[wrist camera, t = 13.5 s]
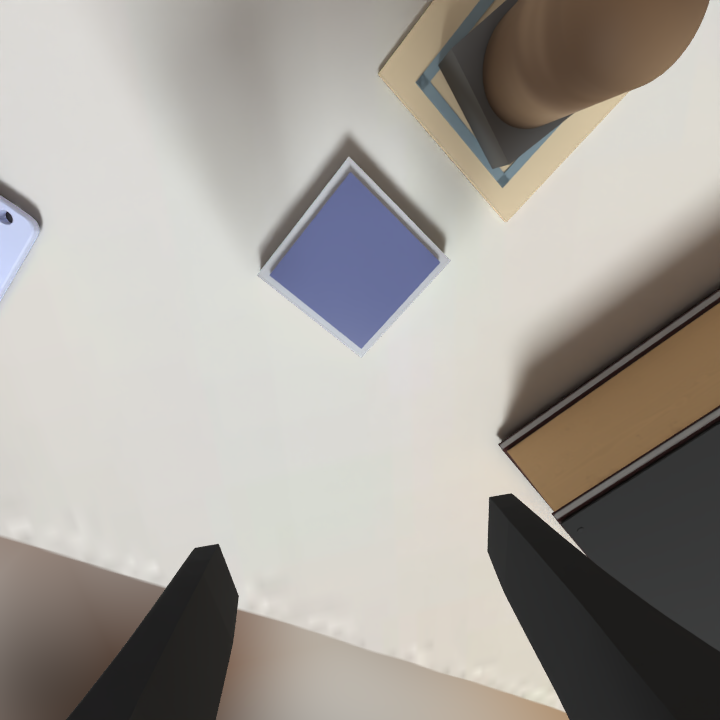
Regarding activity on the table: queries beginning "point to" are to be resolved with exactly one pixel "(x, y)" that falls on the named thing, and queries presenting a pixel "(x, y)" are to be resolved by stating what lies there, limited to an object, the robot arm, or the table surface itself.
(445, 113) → the print card
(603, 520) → the book
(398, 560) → the table surface
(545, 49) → the stamp
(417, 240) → the ink pad
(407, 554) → the table surface
